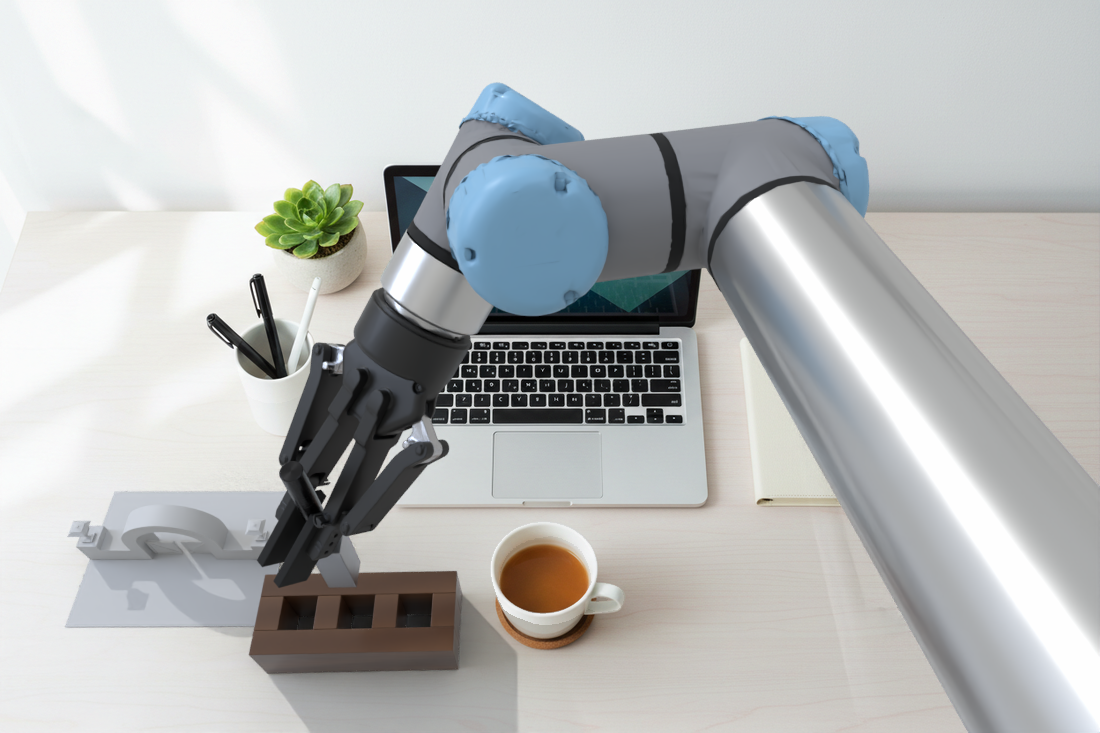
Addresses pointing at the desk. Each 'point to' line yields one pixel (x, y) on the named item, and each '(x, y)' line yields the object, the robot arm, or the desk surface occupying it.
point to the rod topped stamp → (344, 559)
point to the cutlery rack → (359, 648)
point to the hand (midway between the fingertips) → (282, 570)
